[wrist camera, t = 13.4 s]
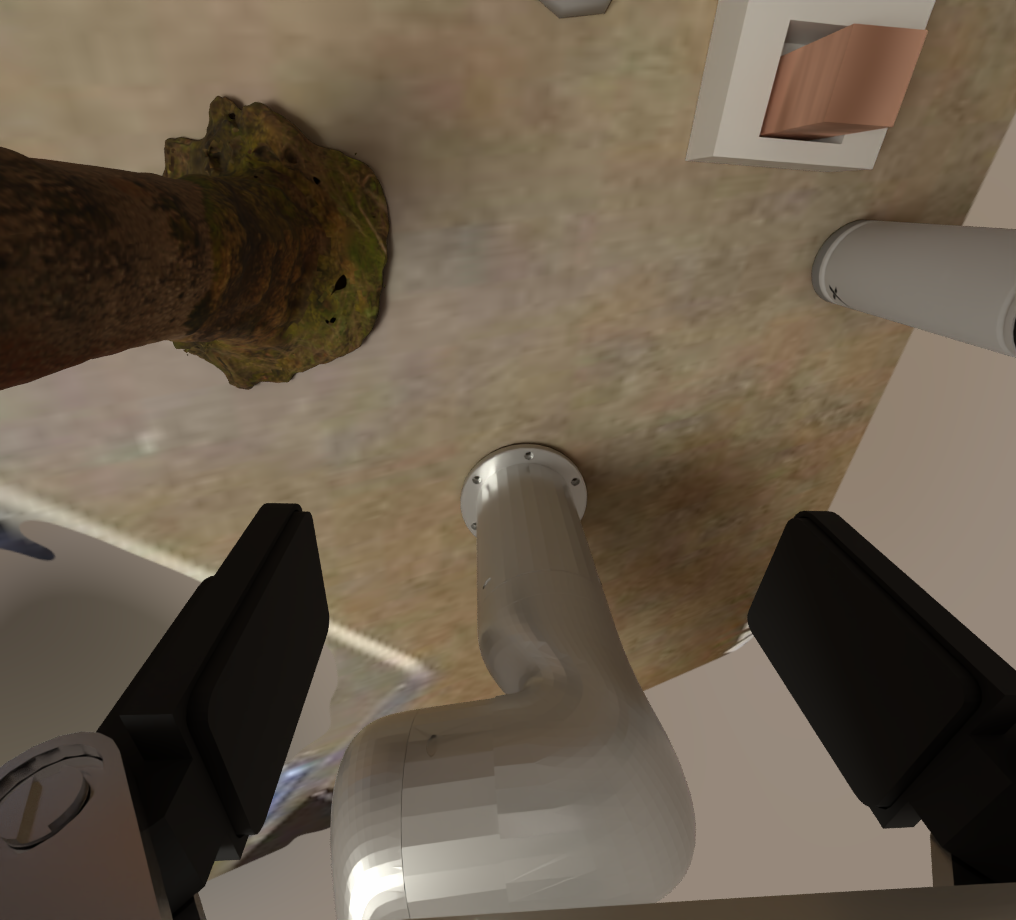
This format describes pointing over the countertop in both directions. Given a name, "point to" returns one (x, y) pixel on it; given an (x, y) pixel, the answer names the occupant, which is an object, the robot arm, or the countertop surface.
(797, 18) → the socket block
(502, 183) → the countertop surface
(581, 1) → the flask
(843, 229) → the travel mug
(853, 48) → the peg
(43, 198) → the tree stump
